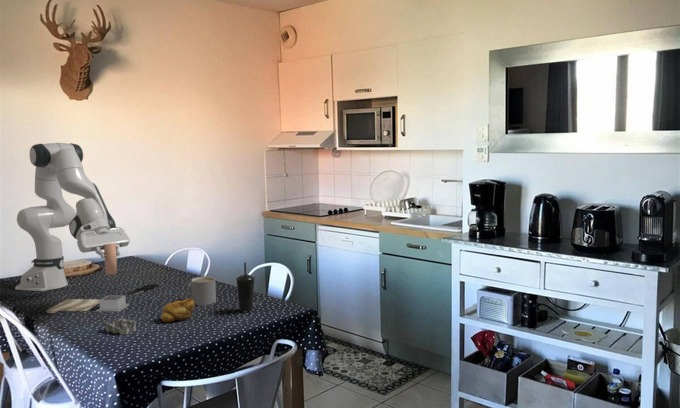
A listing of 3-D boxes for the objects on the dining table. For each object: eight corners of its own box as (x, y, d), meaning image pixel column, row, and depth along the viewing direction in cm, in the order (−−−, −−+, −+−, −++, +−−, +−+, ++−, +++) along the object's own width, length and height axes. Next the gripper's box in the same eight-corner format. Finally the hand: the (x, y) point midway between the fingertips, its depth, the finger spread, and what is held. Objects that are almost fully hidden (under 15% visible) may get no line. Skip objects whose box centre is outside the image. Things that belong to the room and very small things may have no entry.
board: (46, 313, 223) (46, 310, 223) (67, 301, 239) (67, 299, 239) (85, 313, 223) (85, 310, 223) (104, 302, 239) (103, 299, 238)
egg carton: (102, 332, 201) (102, 321, 201) (120, 326, 208) (119, 315, 208) (122, 336, 196) (122, 325, 196) (139, 330, 203) (139, 319, 202)
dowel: (103, 274, 224) (102, 245, 222) (108, 272, 228) (107, 243, 227) (114, 274, 223) (112, 245, 222) (118, 272, 228) (117, 243, 226)
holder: (95, 313, 223) (94, 301, 222) (106, 306, 232) (106, 294, 232) (119, 313, 222) (119, 301, 222) (130, 306, 232) (129, 294, 232)
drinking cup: (259, 308, 227) (257, 261, 225) (250, 314, 220) (248, 264, 218) (242, 307, 230) (241, 259, 228) (233, 312, 223) (231, 263, 221)
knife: (120, 301, 242) (119, 298, 242) (109, 299, 245) (109, 296, 244) (161, 287, 264) (161, 284, 264) (151, 286, 267) (151, 283, 267)
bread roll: (167, 325, 207) (166, 305, 206) (154, 320, 214) (153, 300, 213) (197, 318, 216) (196, 298, 215) (184, 313, 223) (183, 293, 222)
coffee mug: (220, 302, 238) (219, 279, 237) (200, 307, 231) (199, 283, 230) (203, 296, 247) (202, 274, 246) (183, 301, 240) (182, 278, 239)
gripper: (119, 231, 239) (132, 256, 234) (71, 237, 224) (84, 265, 219) (124, 222, 236) (137, 247, 231) (76, 227, 220) (88, 255, 215)
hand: (111, 256), depth 225 cm, fingers closed on dowel, 4 cm apart
